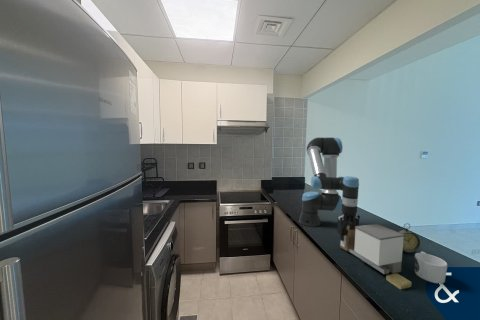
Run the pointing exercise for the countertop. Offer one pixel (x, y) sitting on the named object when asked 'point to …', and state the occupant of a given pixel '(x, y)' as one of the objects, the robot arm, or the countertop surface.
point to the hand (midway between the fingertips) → (347, 245)
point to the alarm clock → (410, 240)
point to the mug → (430, 267)
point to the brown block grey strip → (350, 247)
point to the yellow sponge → (398, 281)
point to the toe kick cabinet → (380, 245)
